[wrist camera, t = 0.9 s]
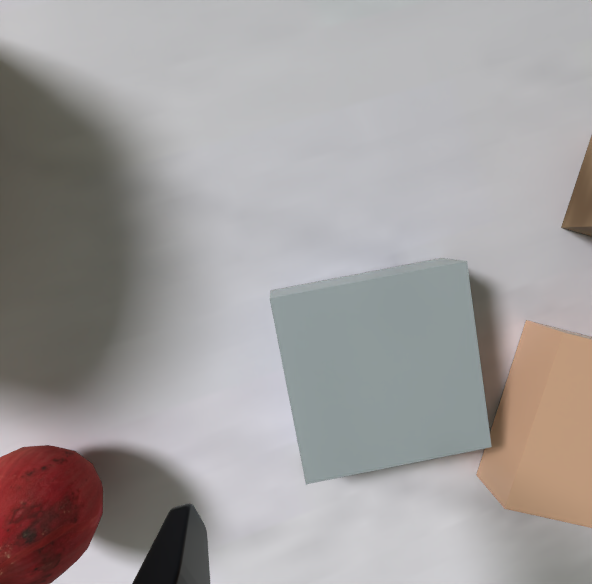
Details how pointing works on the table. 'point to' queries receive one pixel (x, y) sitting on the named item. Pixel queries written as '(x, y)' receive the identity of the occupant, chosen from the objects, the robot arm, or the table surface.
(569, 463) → the terracotta slab
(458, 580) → the table surface
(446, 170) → the table surface
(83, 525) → the onion
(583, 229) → the walnut pillar
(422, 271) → the stone slab
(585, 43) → the table surface
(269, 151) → the table surface
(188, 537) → the robot arm
